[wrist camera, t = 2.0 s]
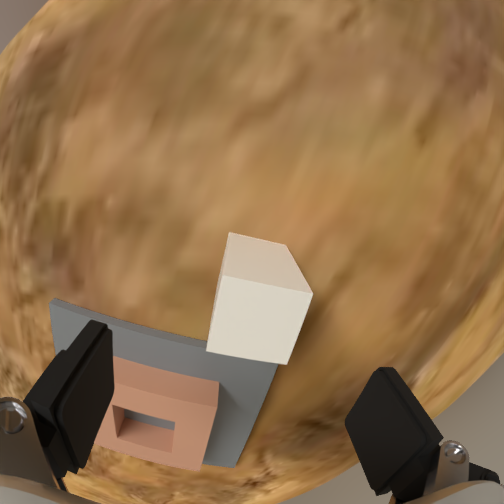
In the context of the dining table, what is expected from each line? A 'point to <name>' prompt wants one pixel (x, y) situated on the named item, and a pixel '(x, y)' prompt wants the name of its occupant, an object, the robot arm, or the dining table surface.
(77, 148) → the dining table surface
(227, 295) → the plug
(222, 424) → the socket board
